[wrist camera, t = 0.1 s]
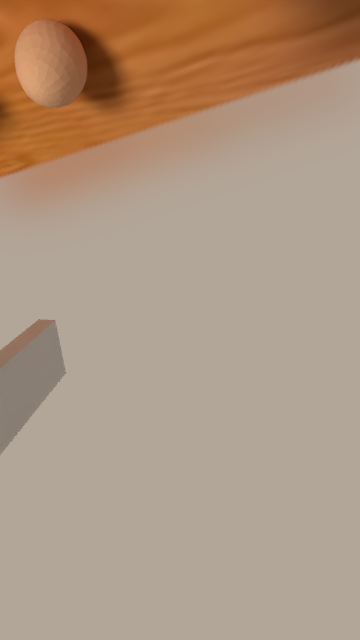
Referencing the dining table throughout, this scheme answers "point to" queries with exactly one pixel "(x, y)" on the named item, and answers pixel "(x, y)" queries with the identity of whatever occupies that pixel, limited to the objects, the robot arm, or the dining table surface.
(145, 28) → the dining table surface
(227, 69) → the dining table surface
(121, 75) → the dining table surface
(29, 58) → the egg
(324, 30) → the dining table surface
